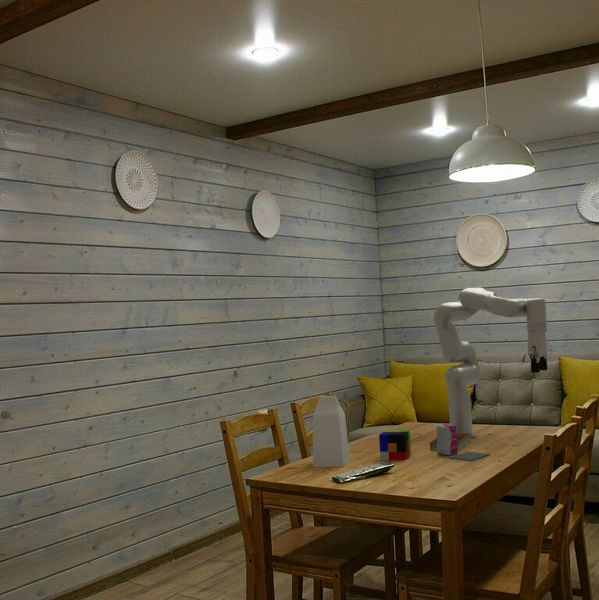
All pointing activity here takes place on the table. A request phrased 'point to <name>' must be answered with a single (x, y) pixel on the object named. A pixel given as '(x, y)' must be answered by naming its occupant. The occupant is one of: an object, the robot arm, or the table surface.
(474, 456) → the mat
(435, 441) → the hardcover book
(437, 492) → the table surface
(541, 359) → the robot arm
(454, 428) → the supplement box
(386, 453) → the puzzle toy
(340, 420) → the milk
